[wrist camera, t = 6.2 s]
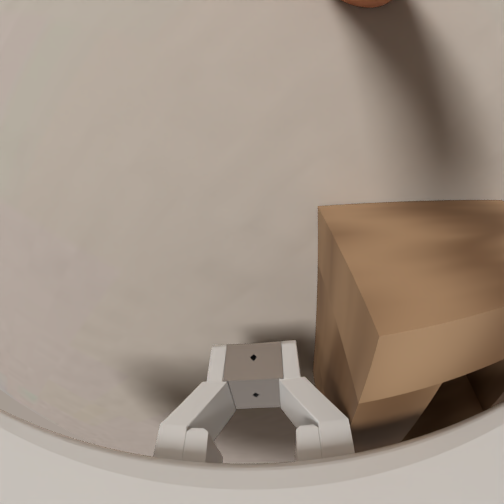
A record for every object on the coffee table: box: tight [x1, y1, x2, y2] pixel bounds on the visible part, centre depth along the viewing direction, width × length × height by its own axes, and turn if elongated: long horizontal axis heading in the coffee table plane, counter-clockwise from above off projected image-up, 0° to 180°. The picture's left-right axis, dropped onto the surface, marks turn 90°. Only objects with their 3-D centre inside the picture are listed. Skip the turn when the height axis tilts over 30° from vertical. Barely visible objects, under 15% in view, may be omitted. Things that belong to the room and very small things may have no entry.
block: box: [313, 200, 504, 453], centre depth 9 cm, size 9×9×6 cm
